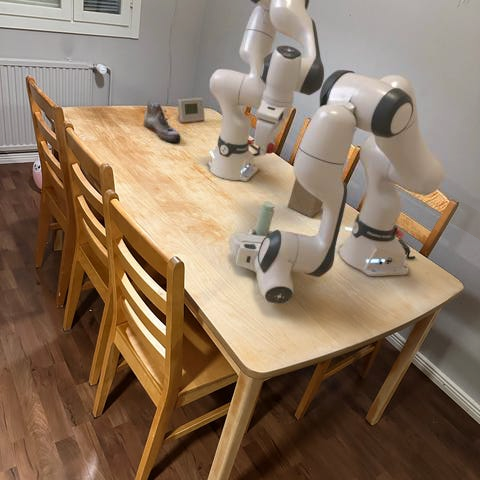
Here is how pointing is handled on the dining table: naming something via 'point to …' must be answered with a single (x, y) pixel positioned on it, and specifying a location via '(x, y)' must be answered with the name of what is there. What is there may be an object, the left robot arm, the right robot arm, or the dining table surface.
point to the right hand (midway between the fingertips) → (260, 231)
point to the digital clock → (191, 110)
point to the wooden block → (304, 200)
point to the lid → (269, 148)
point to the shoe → (160, 123)
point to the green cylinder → (264, 219)
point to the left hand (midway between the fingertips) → (265, 150)
